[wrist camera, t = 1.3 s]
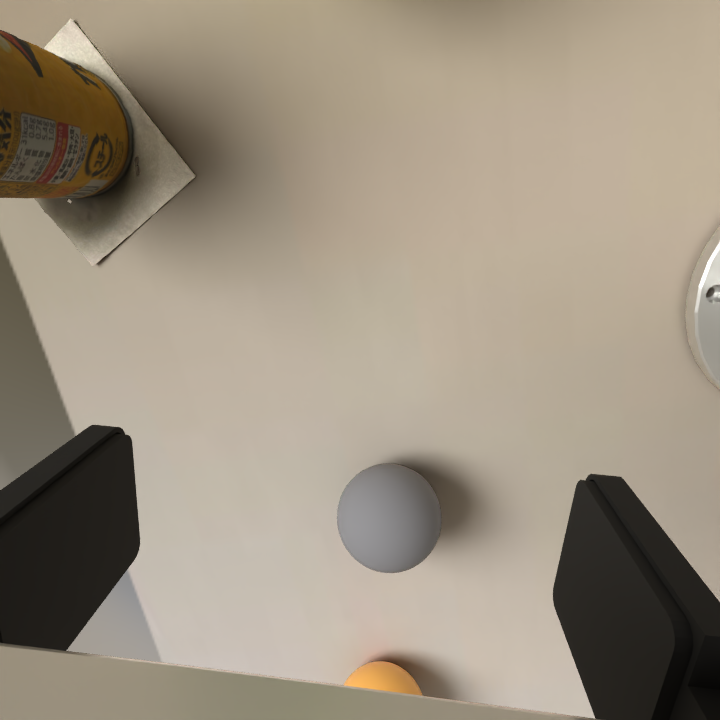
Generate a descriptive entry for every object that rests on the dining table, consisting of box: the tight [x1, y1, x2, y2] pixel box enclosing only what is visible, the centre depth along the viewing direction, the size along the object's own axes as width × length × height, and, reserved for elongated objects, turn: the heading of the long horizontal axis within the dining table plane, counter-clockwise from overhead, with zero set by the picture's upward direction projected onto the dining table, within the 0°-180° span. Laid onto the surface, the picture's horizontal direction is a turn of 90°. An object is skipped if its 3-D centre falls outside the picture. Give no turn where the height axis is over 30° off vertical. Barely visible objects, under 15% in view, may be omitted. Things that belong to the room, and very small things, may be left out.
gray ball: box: [337, 464, 441, 573], centre depth 27 cm, size 6×6×6 cm
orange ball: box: [344, 661, 423, 696], centre depth 31 cm, size 6×6×6 cm
